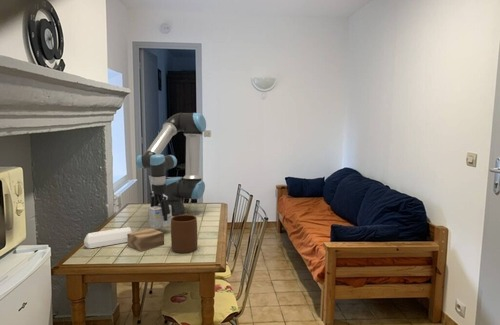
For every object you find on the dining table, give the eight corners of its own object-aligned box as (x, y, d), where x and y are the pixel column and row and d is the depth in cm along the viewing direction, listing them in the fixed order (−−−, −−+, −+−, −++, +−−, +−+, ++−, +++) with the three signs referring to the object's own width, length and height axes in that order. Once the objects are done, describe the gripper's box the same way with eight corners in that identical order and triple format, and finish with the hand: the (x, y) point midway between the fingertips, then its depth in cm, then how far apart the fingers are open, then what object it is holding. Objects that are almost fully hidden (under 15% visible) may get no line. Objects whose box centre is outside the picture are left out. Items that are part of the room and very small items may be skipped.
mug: (175, 239, 197) (174, 210, 195) (199, 239, 198) (199, 210, 196) (169, 254, 178) (168, 222, 175) (196, 253, 178) (195, 221, 176)
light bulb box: (166, 221, 214) (165, 203, 212) (172, 224, 209) (171, 205, 207) (149, 226, 206) (147, 207, 204) (155, 229, 202) (154, 209, 200)
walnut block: (127, 245, 188) (127, 233, 188) (150, 239, 198) (149, 227, 197) (141, 251, 181) (140, 238, 180) (164, 244, 190) (163, 232, 189)
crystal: (131, 229, 202) (82, 237, 190) (133, 226, 196) (83, 233, 184) (133, 243, 200) (84, 251, 188) (136, 240, 194) (85, 248, 182)
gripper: (142, 182, 207) (144, 222, 211) (163, 187, 194) (166, 230, 198) (153, 180, 213) (155, 219, 217) (175, 185, 200) (177, 227, 204)
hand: (160, 224), depth 207 cm, fingers closed on light bulb box, 7 cm apart
